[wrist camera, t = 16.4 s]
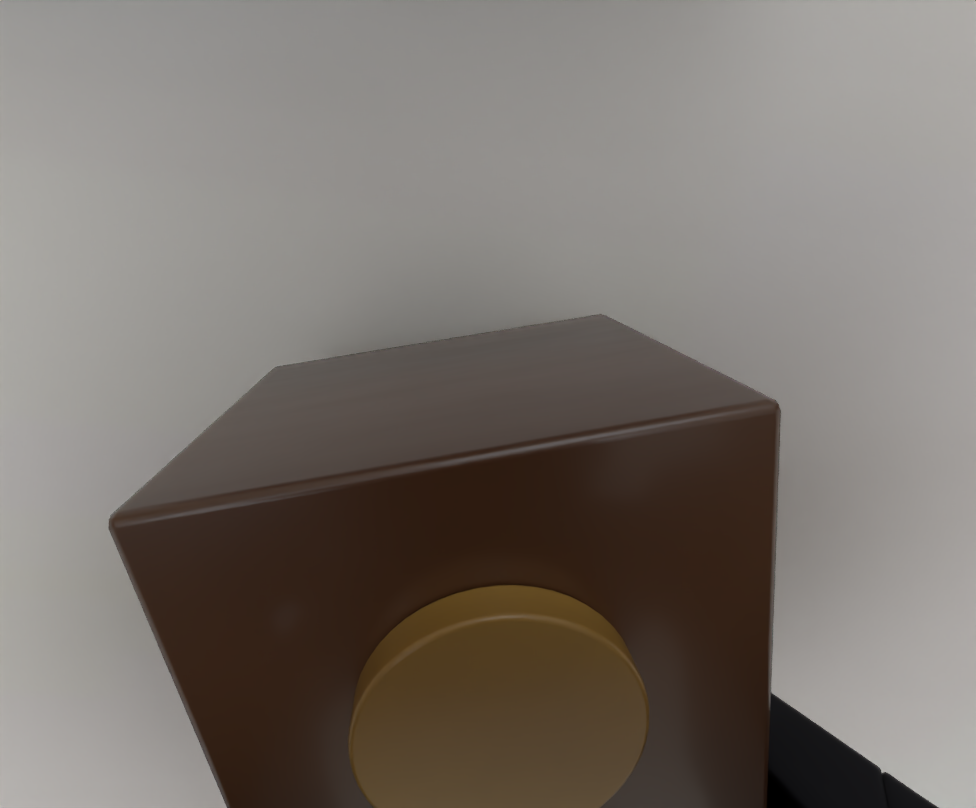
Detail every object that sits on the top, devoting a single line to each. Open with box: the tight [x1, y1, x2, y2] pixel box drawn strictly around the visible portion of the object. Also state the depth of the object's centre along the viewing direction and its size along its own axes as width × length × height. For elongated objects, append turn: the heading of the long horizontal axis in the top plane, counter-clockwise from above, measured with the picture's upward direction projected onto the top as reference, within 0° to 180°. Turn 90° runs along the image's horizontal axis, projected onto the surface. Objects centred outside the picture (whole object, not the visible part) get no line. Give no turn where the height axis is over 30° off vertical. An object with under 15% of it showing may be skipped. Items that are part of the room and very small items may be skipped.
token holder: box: [109, 314, 781, 808], centre depth 8 cm, size 11×5×5 cm, turn 8°
